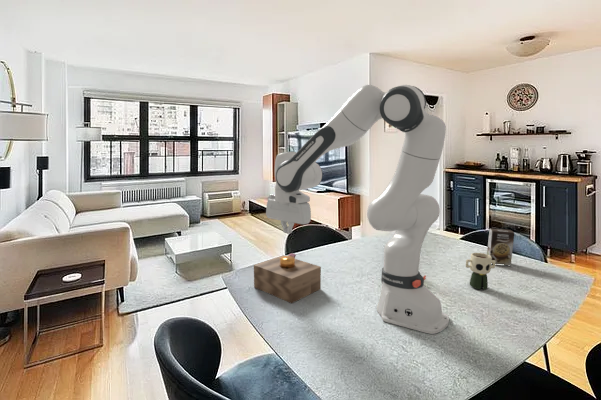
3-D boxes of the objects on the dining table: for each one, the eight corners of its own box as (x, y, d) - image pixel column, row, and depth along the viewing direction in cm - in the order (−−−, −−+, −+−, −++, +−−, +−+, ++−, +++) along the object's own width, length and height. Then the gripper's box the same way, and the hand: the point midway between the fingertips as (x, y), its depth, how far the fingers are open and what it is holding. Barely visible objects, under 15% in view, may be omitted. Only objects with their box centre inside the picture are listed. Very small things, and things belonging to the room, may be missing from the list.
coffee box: (488, 264, 157) (492, 231, 155) (485, 260, 164) (488, 227, 161) (511, 267, 155) (515, 232, 152) (507, 262, 161) (510, 229, 158)
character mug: (467, 290, 129) (470, 257, 127) (460, 283, 136) (462, 252, 134) (497, 291, 128) (500, 258, 126) (488, 284, 135) (491, 252, 133)
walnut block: (320, 289, 130) (320, 266, 128) (291, 303, 118) (291, 278, 117) (283, 275, 143) (283, 255, 142) (254, 287, 131) (253, 264, 130)
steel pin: (297, 286, 131) (297, 258, 129) (287, 291, 127) (287, 261, 125) (287, 282, 135) (287, 254, 133) (277, 287, 130) (276, 258, 129)
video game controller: (287, 273, 150) (294, 260, 149) (278, 268, 150) (285, 255, 149) (292, 265, 160) (298, 253, 158) (283, 260, 160) (290, 248, 159)
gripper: (261, 194, 130) (262, 230, 132) (301, 199, 116) (301, 238, 118) (273, 193, 134) (274, 227, 136) (313, 197, 121) (313, 235, 123)
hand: (287, 232), depth 127 cm, fingers closed
